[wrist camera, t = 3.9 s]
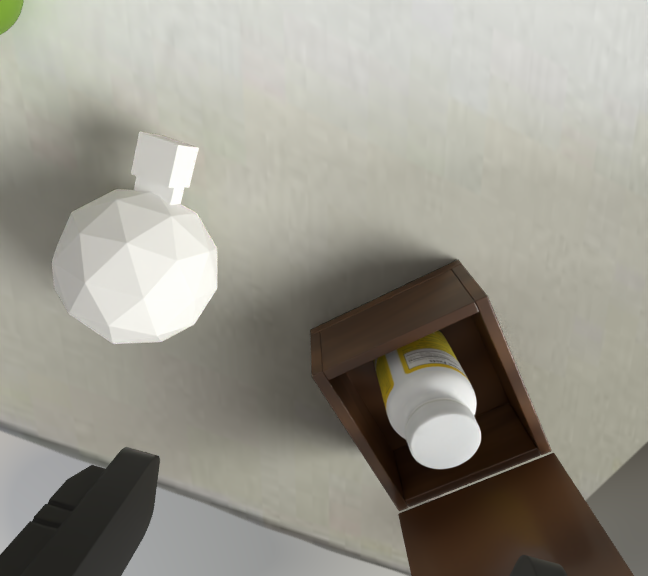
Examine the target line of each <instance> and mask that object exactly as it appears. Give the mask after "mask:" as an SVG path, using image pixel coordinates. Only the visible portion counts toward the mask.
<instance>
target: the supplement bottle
mask: <svg viewBox="0 0 648 576" xmlns="http://www.w3.org/2000/svg"><path fill="white" fill-rule="evenodd" d="M373 363H374V367H375V371H376V374H377V378H378V382H379V385H380V389H381V393H382V397H383V401H384V404H385V409H386V412H387V416H388V419H389V421H390V424H391V425H392V427H393V428H394V430H395V431H396V432H397V433H398V434H399V435H400V436H401V437H403V438H404V439H406V441H407V443H408V446H409V449H410V452H411V454H412V456H413V457H414V459H415V460H416V461H417V462H419V463H420V464H422V465H423V466H426V467H429V468H433V469H447V468H452V467H455V466H458V465H460V464H462V463H464V462H466V461H467V460H468V459H470V458H471V457H472V456H473V455H474V454H475V452H476V451H477V449H478V447H479V445H480V442H481V431H480V428H479V426H478V424H477V422H476V419H475V417H474V415H475V412H476V396H475V392H474V390H473V388H472V386H471V383H470V382H469V380H468V378H467V376H466V374H465V373H464V371H463V369H462V367H461V365H460V364H459V362H458V360H457V358H456V356H455V355H454V353H453V351H452V349H451V347H450V346H449V344H448V342H447V340H446V338H445V337H444V335H443V333H442V332H441V331H440V330H438V331H436V332H434V333H432V334H429V335H427V336H425V337H423V338H421V339H418V340H416V341H414V342H412V343H410V344H407V345H405V346H403V347H401V348H399V349H396V350H394V351H392V352H390V353H388V354H385V355H383V356H381V357H379V358H377V359H374V360H373Z"/></svg>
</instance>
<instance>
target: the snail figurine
mask: <svg viewBox="0 0 648 576" xmlns="http://www.w3.org/2000/svg"><path fill="white" fill-rule="evenodd" d="M22 6H23V0H0V35H1V34H2V33H4V32H6V31H7V30H8V29H9V28H10V27H12V25H13V24H14V23H15V22H16V20H17V19H18V17H19V15H20V13H21V10H22Z"/></svg>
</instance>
